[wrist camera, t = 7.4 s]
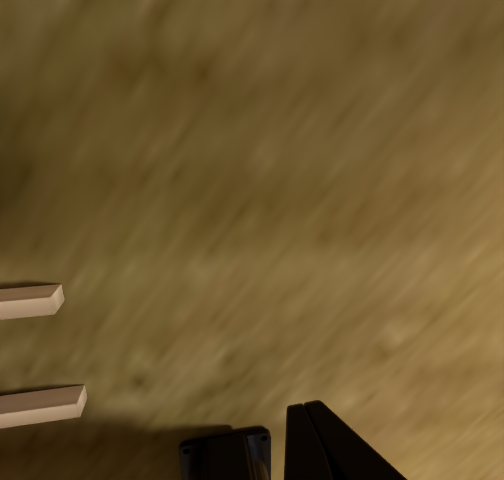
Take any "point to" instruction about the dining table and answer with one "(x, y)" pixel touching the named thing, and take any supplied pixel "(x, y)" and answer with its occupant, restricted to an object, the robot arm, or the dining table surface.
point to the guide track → (46, 401)
